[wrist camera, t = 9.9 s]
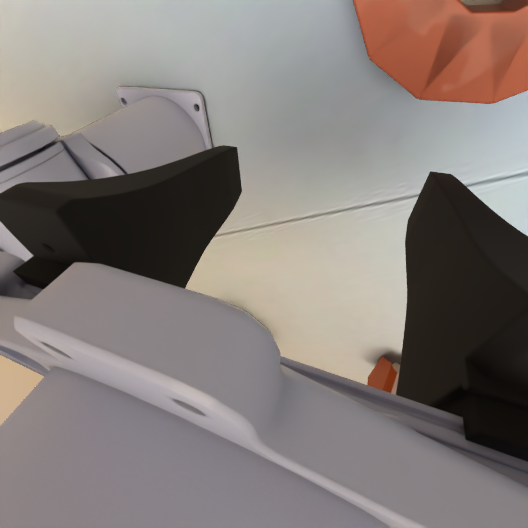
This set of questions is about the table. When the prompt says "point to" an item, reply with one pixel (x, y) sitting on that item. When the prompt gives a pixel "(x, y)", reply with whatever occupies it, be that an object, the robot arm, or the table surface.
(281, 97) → the table surface
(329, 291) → the table surface
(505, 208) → the table surface
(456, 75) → the ring
